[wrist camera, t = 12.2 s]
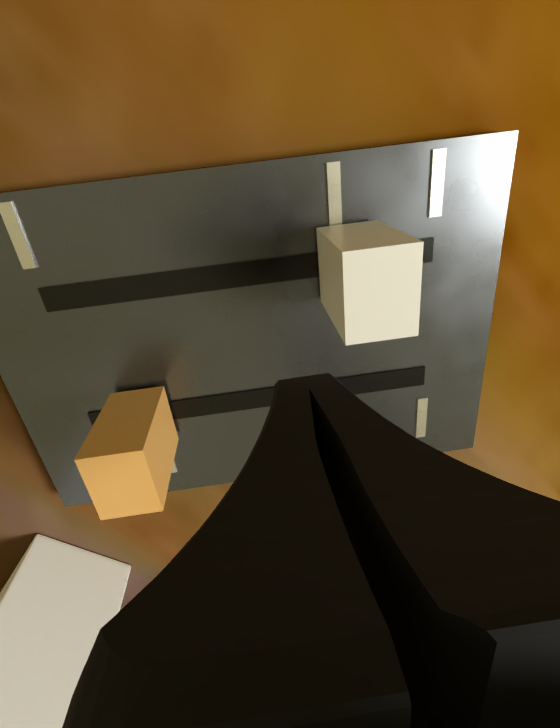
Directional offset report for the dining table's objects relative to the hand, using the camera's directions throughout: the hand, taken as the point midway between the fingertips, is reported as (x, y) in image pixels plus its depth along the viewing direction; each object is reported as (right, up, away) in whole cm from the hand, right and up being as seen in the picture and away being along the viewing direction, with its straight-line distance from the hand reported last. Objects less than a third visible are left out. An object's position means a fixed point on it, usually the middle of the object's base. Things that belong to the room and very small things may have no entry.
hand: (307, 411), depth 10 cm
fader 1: (-7, -1, +9) cm, 11 cm away
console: (-2, +2, +9) cm, 10 cm away
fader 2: (+2, +5, +6) cm, 9 cm away
